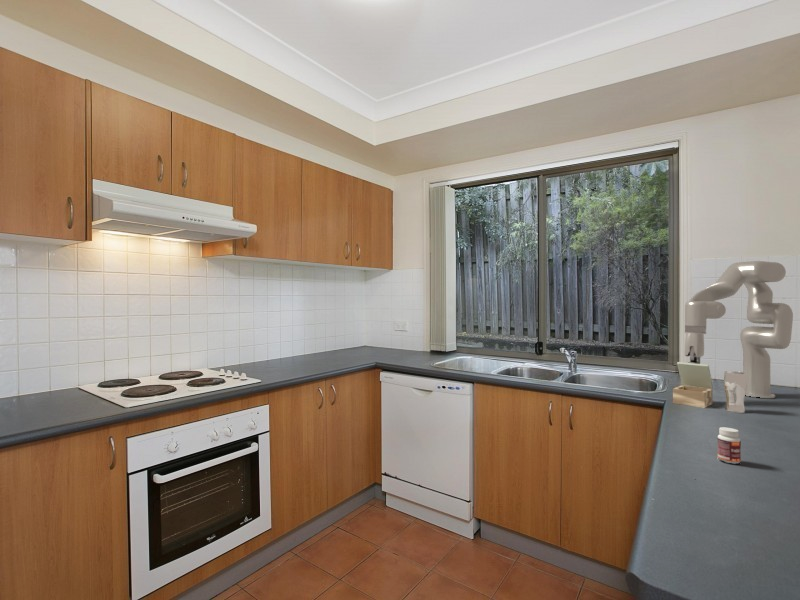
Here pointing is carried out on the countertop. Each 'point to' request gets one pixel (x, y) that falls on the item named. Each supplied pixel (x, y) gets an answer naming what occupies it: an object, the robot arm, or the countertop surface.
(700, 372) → the box lid
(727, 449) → the pill bottle
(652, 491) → the countertop surface
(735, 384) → the beer glass
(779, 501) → the countertop surface
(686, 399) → the light wooden box
